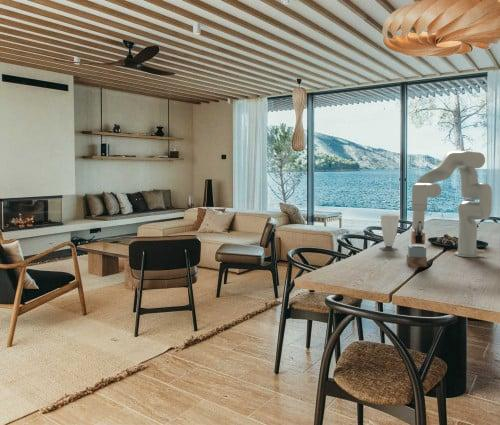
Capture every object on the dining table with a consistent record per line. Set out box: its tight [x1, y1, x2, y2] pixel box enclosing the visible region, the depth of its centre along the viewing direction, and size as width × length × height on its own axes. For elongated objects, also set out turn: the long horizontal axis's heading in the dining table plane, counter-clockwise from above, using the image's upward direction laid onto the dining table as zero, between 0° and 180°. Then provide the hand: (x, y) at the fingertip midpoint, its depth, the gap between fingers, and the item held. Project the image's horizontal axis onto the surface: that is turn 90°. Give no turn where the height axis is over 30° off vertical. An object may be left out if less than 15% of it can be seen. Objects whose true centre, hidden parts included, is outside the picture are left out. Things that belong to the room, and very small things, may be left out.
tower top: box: [407, 244, 427, 258], centre depth 237 cm, size 8×8×5 cm
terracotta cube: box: [410, 230, 426, 246], centre depth 236 cm, size 6×6×6 cm
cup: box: [379, 213, 400, 252], centre depth 281 cm, size 12×12×22 cm
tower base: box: [406, 253, 428, 268], centre depth 237 cm, size 9×9×5 cm
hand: (417, 241), depth 236 cm, fingers closed on terracotta cube, 6 cm apart
